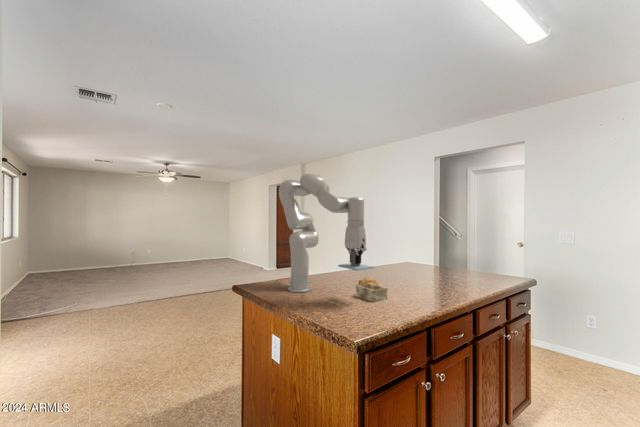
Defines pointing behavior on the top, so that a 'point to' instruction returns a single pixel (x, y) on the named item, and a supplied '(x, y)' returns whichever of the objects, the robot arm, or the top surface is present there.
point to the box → (371, 292)
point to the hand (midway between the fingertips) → (355, 262)
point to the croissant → (367, 281)
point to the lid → (355, 266)
